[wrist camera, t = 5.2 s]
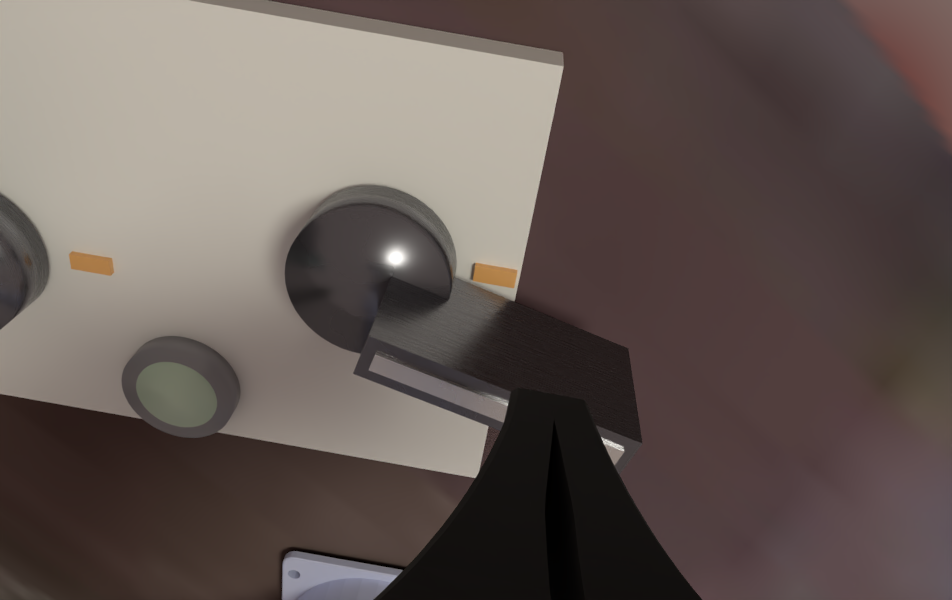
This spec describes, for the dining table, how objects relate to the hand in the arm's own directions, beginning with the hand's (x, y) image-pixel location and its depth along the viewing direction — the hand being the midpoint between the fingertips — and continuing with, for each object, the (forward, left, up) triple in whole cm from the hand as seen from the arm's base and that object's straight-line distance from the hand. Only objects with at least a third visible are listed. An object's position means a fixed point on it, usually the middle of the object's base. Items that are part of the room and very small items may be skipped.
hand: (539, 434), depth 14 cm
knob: (-2, +2, -8) cm, 8 cm away
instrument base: (-2, +10, -9) cm, 14 cm away
